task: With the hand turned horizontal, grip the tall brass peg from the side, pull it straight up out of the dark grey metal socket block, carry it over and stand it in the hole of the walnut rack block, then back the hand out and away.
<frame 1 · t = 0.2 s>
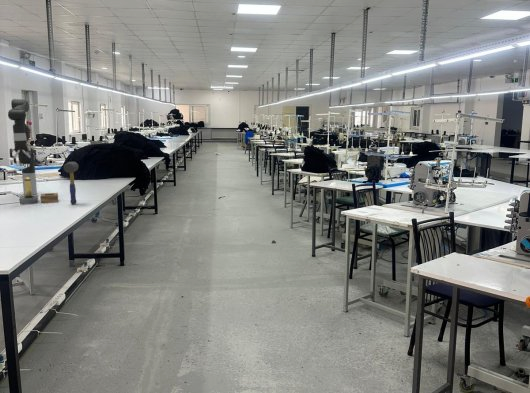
hand: (23, 163, 294), 29 cm above the table, tool pointing down, fingers open, 8 cm apart
brass peg: (28, 190, 305), in the socket block
rack block: (49, 201, 312), on the table
rubber mallet: (73, 204, 302), on the table
socket block: (29, 202, 306), on the table
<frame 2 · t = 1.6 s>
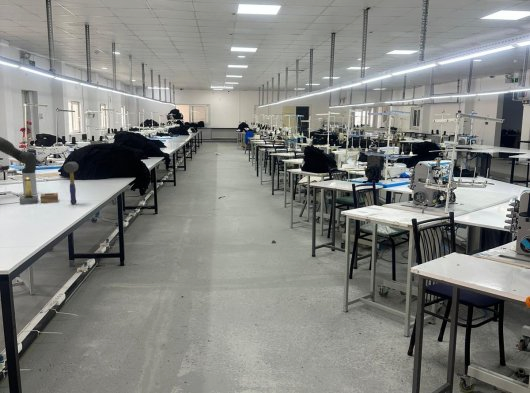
hand: (8, 168, 297), 25 cm above the table, tool horizontal, fingers open, 8 cm apart
nothing on the table moved.
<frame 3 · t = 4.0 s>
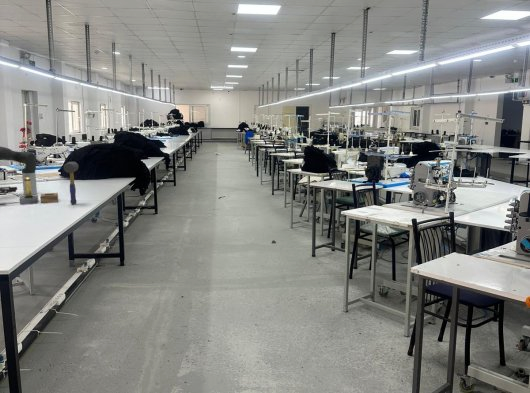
hand: (16, 189, 302), 10 cm above the table, tool horizontal, fingers open, 8 cm apart
nothing on the table moved.
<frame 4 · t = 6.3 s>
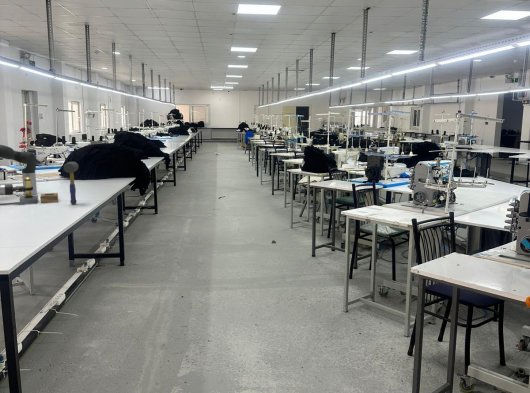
hand: (32, 188, 306), 10 cm above the table, tool horizontal, fingers closed on brass peg, 4 cm apart
brass peg: (28, 190, 305), in the socket block, touching gripper
everything else where it was.
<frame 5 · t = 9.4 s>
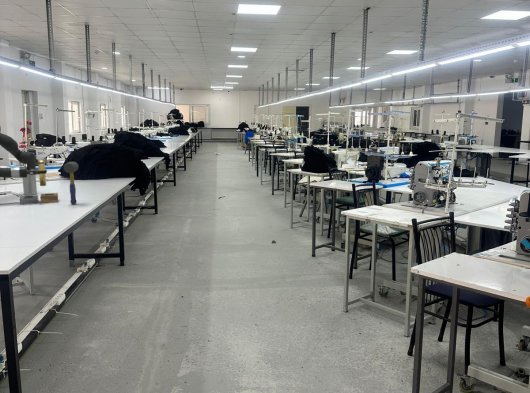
hand: (46, 171, 308), 22 cm above the table, tool horizontal, fingers closed on brass peg, 4 cm apart
brass peg: (42, 173, 307), point 21 cm above the table, touching gripper
everything else where it was.
when the fingers open (11 cm above the table, at t = 12.6 s): brass peg drops 1 cm, resting in rack block.
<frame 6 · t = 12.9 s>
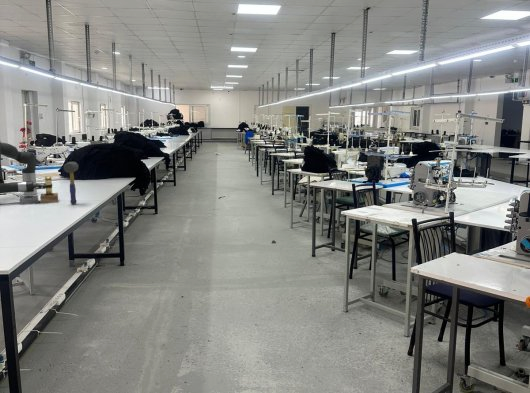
hand: (52, 185, 311), 12 cm above the table, tool horizontal, fingers open, 6 cm apart
brass peg: (48, 189, 310), in the rack block
everything else where it was.
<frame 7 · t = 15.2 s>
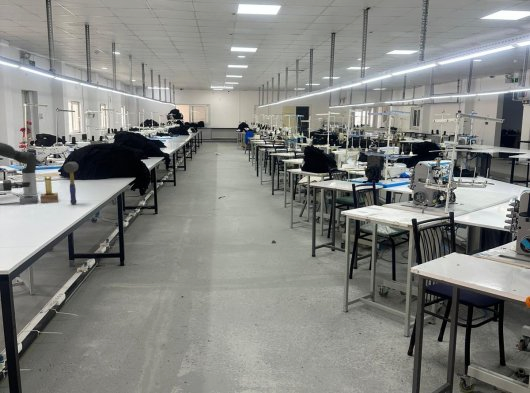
hand: (29, 184, 305), 13 cm above the table, tool horizontal, fingers open, 8 cm apart
nothing on the table moved.
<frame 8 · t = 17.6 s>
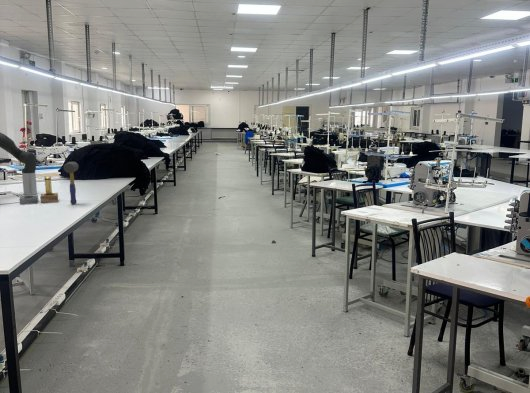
hand: (10, 160, 300), 30 cm above the table, tool horizontal, fingers open, 8 cm apart
nothing on the table moved.
at the end: brass peg 0.1 cm off-centre on the rack block, point 9.0 cm above the rack block's base; brass peg tilted 0°; the gripper is holding nothing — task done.
